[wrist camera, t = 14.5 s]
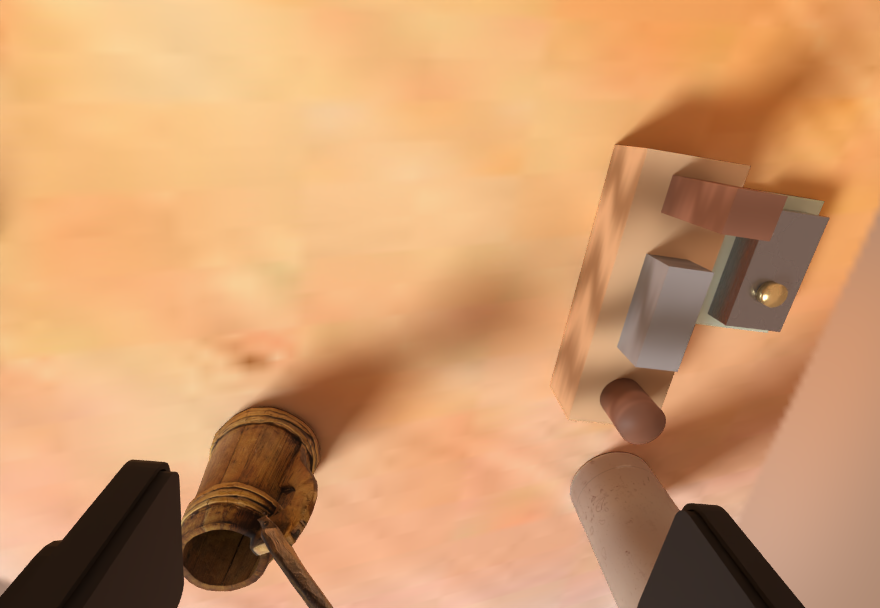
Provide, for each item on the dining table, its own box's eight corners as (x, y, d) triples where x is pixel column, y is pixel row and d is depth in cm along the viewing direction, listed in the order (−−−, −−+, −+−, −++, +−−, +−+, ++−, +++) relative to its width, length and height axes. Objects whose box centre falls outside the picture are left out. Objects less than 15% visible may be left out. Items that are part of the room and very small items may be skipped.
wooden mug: (383, 449, 42) (368, 665, 26) (250, 504, 44) (151, 744, 27) (336, 370, 39) (283, 556, 22) (193, 431, 40) (41, 651, 24)
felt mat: (734, 186, 36) (739, 187, 35) (818, 200, 37) (824, 201, 36) (686, 320, 40) (690, 323, 39) (762, 329, 40) (767, 332, 40)
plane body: (615, 144, 34) (709, 155, 23) (705, 159, 35) (835, 176, 24) (549, 386, 41) (599, 478, 30) (626, 394, 42) (700, 487, 31)
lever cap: (748, 203, 36) (779, 210, 33) (803, 211, 36) (839, 219, 33) (707, 313, 39) (732, 329, 36) (758, 319, 39) (787, 336, 36)
